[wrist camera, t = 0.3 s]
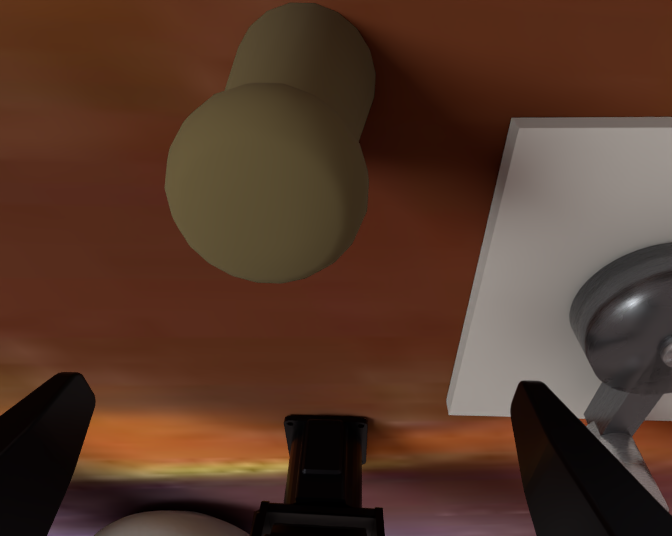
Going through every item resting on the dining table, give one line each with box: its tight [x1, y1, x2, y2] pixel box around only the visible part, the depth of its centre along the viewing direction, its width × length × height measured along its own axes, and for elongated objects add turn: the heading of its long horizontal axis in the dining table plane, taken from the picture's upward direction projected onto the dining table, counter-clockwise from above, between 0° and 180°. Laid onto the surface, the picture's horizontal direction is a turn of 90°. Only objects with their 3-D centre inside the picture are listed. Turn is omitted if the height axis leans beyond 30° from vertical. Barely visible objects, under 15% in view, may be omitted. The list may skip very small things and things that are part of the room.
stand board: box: [446, 117, 672, 421], centre depth 25 cm, size 21×21×2 cm
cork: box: [165, 3, 376, 283], centre depth 14 cm, size 6×6×11 cm
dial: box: [569, 242, 672, 512], centre depth 23 cm, size 14×8×7 cm, turn 1°
